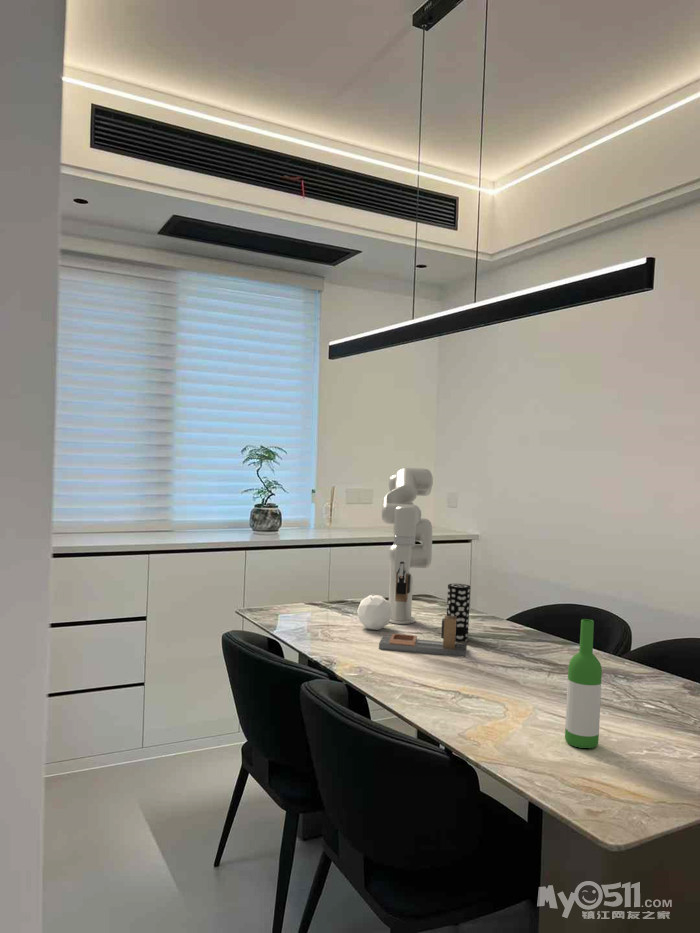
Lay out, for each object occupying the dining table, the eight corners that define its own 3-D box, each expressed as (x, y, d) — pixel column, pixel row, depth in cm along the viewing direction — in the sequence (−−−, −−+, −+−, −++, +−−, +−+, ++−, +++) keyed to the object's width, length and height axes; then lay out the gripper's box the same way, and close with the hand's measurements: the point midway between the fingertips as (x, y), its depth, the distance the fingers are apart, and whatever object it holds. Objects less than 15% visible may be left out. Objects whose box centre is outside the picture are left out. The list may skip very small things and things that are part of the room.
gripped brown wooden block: (395, 601, 250) (396, 572, 250) (396, 598, 255) (397, 570, 255) (408, 602, 250) (410, 573, 249) (409, 599, 255) (411, 571, 254)
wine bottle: (591, 738, 176) (597, 617, 176) (603, 751, 168) (609, 624, 168) (560, 737, 176) (566, 615, 175) (570, 750, 168) (577, 623, 168)
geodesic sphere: (389, 621, 266) (392, 588, 274) (352, 618, 268) (357, 585, 276) (391, 637, 277) (394, 605, 285) (356, 634, 280) (360, 602, 288)
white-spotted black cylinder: (461, 643, 262) (463, 588, 262) (441, 638, 267) (443, 585, 267) (471, 638, 268) (474, 585, 268) (452, 634, 274) (454, 582, 273)
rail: (382, 641, 259) (384, 608, 258) (466, 649, 253) (468, 615, 253) (378, 648, 249) (380, 614, 249) (465, 657, 243) (467, 622, 243)
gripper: (396, 537, 261) (393, 587, 261) (391, 543, 244) (388, 596, 245) (416, 539, 260) (414, 589, 260) (413, 544, 243) (410, 597, 243)
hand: (401, 591), depth 252 cm, fingers closed on gripped brown wooden block, 5 cm apart
